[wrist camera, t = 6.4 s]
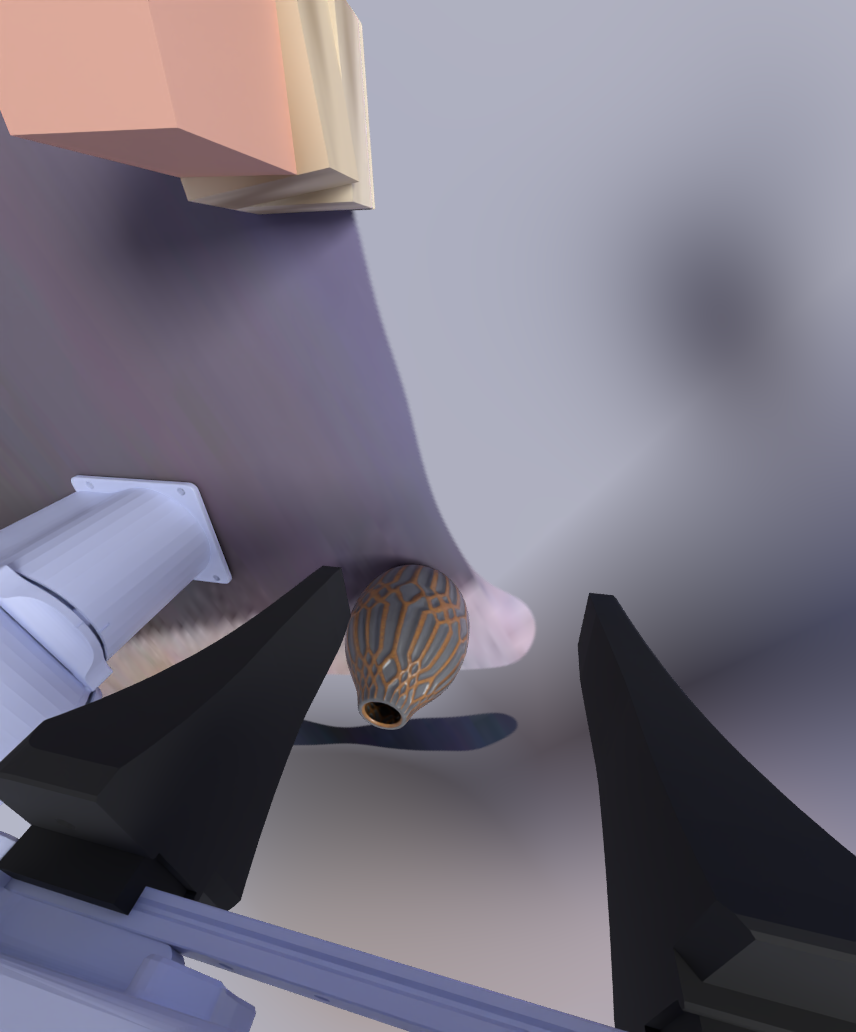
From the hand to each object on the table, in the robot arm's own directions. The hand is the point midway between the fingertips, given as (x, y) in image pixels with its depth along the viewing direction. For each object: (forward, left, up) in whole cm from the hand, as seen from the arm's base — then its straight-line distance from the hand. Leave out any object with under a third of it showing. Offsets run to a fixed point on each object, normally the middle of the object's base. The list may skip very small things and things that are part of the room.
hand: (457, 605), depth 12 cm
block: (-8, +13, -6) cm, 16 cm away
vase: (-4, -9, -11) cm, 15 cm away
